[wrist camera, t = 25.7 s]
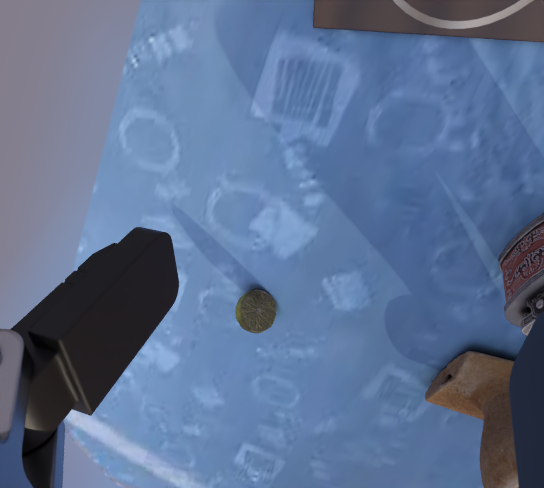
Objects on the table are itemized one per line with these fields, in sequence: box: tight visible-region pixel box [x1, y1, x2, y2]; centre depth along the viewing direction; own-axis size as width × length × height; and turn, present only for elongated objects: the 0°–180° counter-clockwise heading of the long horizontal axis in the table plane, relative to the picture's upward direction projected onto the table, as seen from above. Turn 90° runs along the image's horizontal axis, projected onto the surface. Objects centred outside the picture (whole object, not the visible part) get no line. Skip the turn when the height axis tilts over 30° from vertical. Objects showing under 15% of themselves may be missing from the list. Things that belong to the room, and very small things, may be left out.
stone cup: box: [425, 351, 519, 488], centre depth 43 cm, size 15×12×15 cm
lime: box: [236, 289, 276, 333], centre depth 53 cm, size 4×5×5 cm
